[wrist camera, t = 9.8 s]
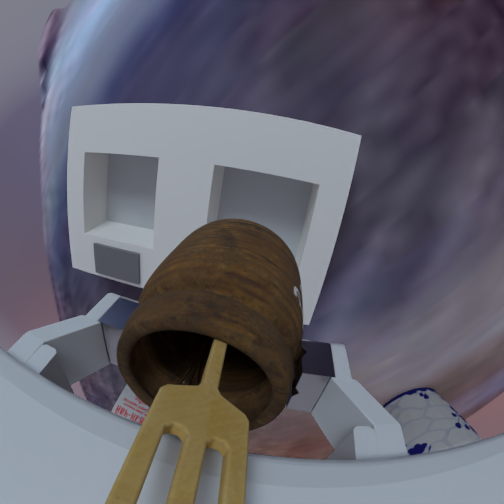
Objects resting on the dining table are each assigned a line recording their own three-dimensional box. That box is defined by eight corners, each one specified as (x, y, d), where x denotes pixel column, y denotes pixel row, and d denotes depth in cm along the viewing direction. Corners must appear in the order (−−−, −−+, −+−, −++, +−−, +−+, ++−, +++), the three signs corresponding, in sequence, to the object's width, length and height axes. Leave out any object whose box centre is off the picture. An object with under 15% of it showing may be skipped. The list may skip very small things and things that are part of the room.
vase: (355, 446, 40) (361, 583, 12) (346, 392, 33) (358, 597, 6) (448, 416, 35) (480, 542, 8) (466, 351, 29) (535, 520, 2)
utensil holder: (165, 295, 14) (39, 497, 3) (204, 185, 12) (-67, 411, 1) (266, 340, 15) (230, 570, 4) (326, 242, 12) (394, 569, 1)
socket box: (346, 136, 22) (362, 135, 17) (306, 295, 28) (309, 327, 23) (102, 108, 23) (70, 106, 18) (98, 249, 29) (71, 268, 24)
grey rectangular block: (163, 407, 40) (143, 453, 31) (127, 389, 39) (103, 433, 30) (167, 398, 38) (146, 447, 29) (129, 379, 38) (103, 425, 29)
